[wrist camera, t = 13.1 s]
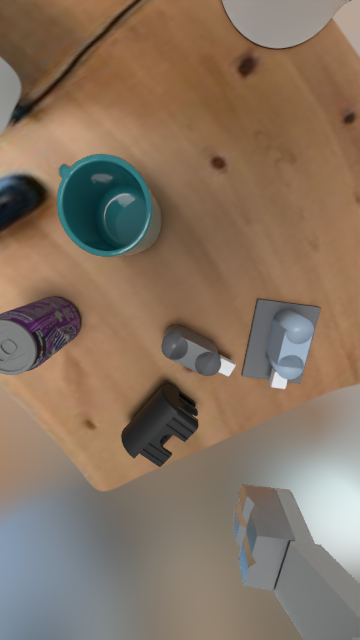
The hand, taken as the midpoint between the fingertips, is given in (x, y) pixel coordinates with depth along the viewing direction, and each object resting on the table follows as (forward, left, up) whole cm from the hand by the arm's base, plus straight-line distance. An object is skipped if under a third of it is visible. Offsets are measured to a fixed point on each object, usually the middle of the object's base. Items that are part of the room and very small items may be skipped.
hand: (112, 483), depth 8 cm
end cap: (+18, +1, -31) cm, 36 cm away
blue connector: (+4, +17, -30) cm, 35 cm away
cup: (-11, -8, -31) cm, 34 cm away
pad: (+4, +17, -31) cm, 36 cm away
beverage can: (+5, -16, -31) cm, 36 cm away
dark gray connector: (+6, +5, -31) cm, 32 cm away
